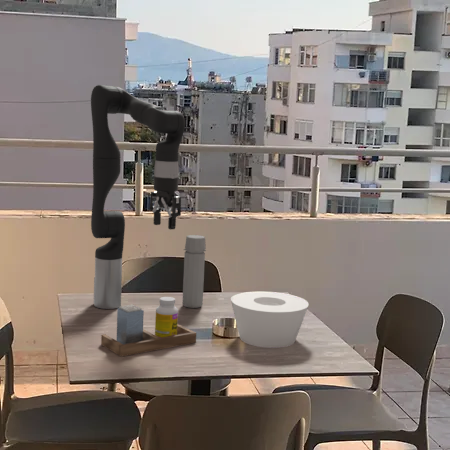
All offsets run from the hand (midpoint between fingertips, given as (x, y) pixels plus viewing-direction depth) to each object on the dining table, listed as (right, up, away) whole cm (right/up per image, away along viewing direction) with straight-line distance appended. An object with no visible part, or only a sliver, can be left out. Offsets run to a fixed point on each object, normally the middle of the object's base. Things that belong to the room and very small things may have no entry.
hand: (164, 226), depth 228 cm
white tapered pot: (+32, -35, -3) cm, 48 cm away
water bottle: (+7, -28, +31) cm, 42 cm away
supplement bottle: (+1, -34, -9) cm, 35 cm away
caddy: (-3, -34, -13) cm, 37 cm away
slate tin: (-9, -35, -16) cm, 39 cm away
